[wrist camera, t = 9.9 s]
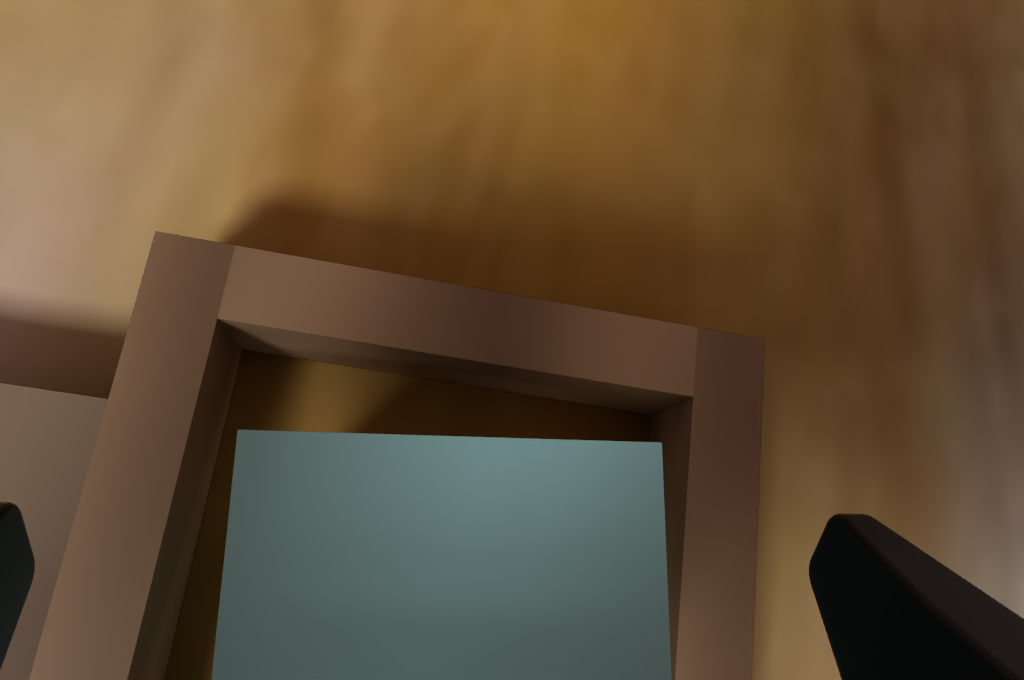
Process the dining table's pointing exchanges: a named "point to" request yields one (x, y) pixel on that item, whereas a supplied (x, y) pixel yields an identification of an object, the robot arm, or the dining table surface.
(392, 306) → the square frame with bar
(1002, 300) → the dining table surface
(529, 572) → the teal peg
